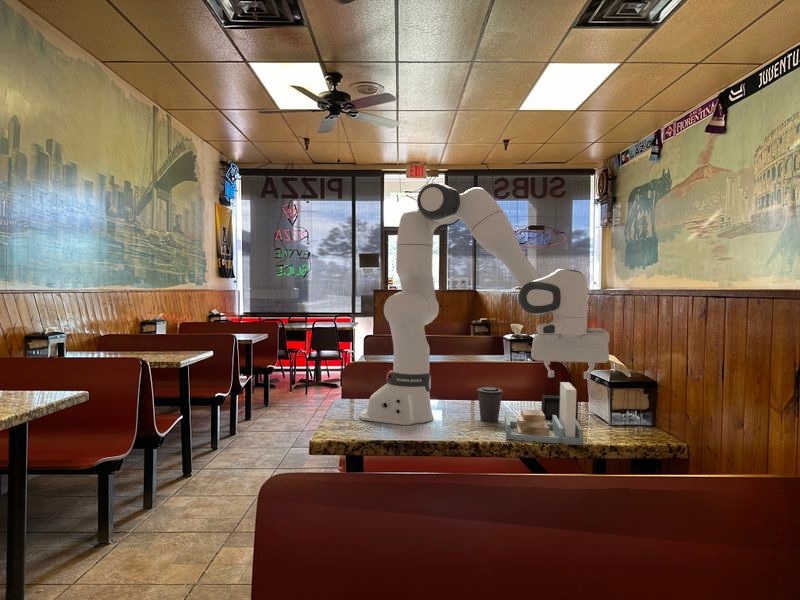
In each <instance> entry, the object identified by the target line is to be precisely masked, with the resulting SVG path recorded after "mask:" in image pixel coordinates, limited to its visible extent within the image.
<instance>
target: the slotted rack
mask: <svg viewBox="0 0 800 600" xmlns="http://www.w3.org/2000/svg"><path fill="white" fill-rule="evenodd" d="M510 419H511V418H510V413H509V411H505V412H504V432H505V440H506V439H516V440H515V441H518V440H524V441H523V442H532V441H536V443H546V442H547V443H548V442H549V443H548V444H559V443H563V444H562V445H575V446H577V445H578V446H583V445H584V428H582V426H581V424H580V423H579V421H577V420H576V423H575V438H570V437H563V427H562V425H561V423H560V422H559V420H558V418H557V416H556V415H552V420H551V422H549V423H547V422H545V423H546V424H547V425H548V427H549V431H550V430H552V432H553V434H554V435H553V436H552V435H549V436H541V435H527V434H517V433H513V432H512V433H511V428H516V424H517V420H510Z"/></svg>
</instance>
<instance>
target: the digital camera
mask: <svg viewBox="0 0 800 600" xmlns="http://www.w3.org/2000/svg"><path fill="white" fill-rule="evenodd" d="M541 410H542V412H543V413H544V415H545V421H552V415H556V416H557V418H558V420H559V413H560V395H541ZM578 415H579V399H578V398H577V397H576V420H577V421H578V420H579V419H578V418H579V416H578ZM578 422H579V421H578Z"/></svg>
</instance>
